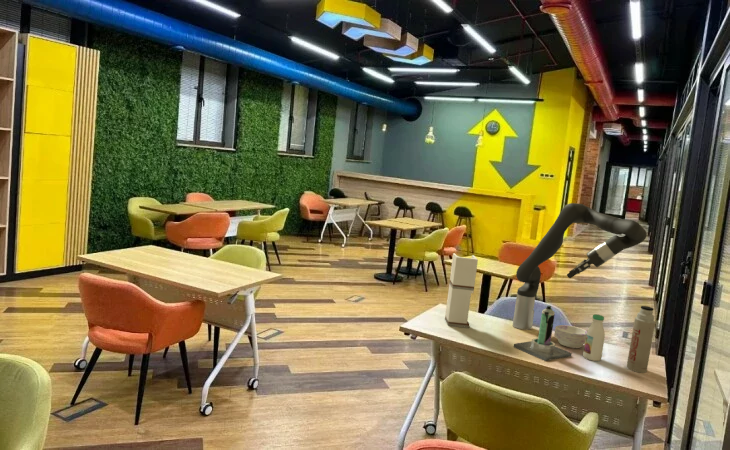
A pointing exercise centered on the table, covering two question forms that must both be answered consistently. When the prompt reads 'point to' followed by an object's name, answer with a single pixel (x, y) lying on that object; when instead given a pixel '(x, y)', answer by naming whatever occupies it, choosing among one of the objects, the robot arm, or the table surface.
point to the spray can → (546, 326)
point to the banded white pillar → (460, 290)
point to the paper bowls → (570, 336)
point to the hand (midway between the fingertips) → (569, 275)
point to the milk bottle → (594, 339)
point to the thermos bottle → (641, 340)
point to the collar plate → (543, 354)
